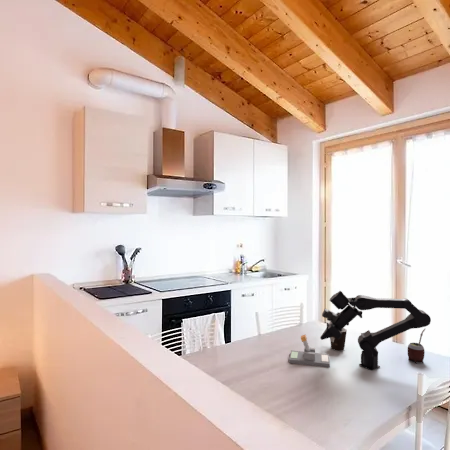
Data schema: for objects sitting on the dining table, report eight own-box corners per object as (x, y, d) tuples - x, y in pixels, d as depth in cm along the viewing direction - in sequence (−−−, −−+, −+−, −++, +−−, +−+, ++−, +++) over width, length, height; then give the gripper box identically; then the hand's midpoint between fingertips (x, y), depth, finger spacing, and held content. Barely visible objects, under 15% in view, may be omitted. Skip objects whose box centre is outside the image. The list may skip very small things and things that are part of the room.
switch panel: (328, 357, 169) (329, 348, 169) (329, 367, 157) (329, 357, 157) (291, 353, 174) (291, 344, 174) (289, 362, 162) (289, 353, 162)
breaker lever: (312, 353, 167) (305, 334, 168) (312, 356, 163) (305, 336, 164) (308, 354, 167) (301, 335, 168) (307, 357, 164) (300, 338, 165)
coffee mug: (348, 351, 177) (349, 332, 176) (331, 351, 177) (331, 331, 177) (341, 343, 188) (341, 325, 188) (325, 343, 188) (325, 325, 188)
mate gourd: (407, 362, 164) (407, 330, 164) (407, 356, 171) (408, 326, 171) (425, 365, 161) (426, 333, 160) (425, 359, 168) (425, 328, 167)
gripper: (331, 299, 172) (308, 320, 175) (333, 308, 154) (307, 331, 156) (348, 316, 170) (325, 337, 173) (352, 327, 152) (326, 350, 155)
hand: (320, 338), depth 164 cm, fingers closed
